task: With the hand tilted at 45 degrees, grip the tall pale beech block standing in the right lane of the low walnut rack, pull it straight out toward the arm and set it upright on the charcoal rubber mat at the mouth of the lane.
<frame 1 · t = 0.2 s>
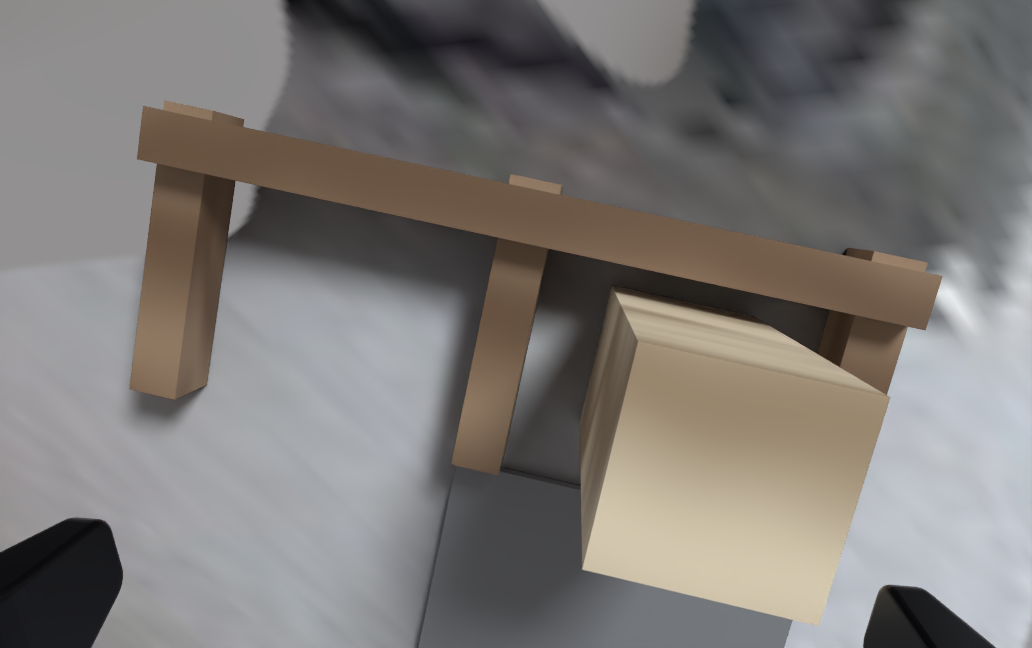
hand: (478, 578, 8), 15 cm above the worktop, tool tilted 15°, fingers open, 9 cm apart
lane rack: (665, 369, 23), on the worktop
rubber mat: (602, 618, 25), on the worktop
beech block: (664, 369, 23), on the worktop
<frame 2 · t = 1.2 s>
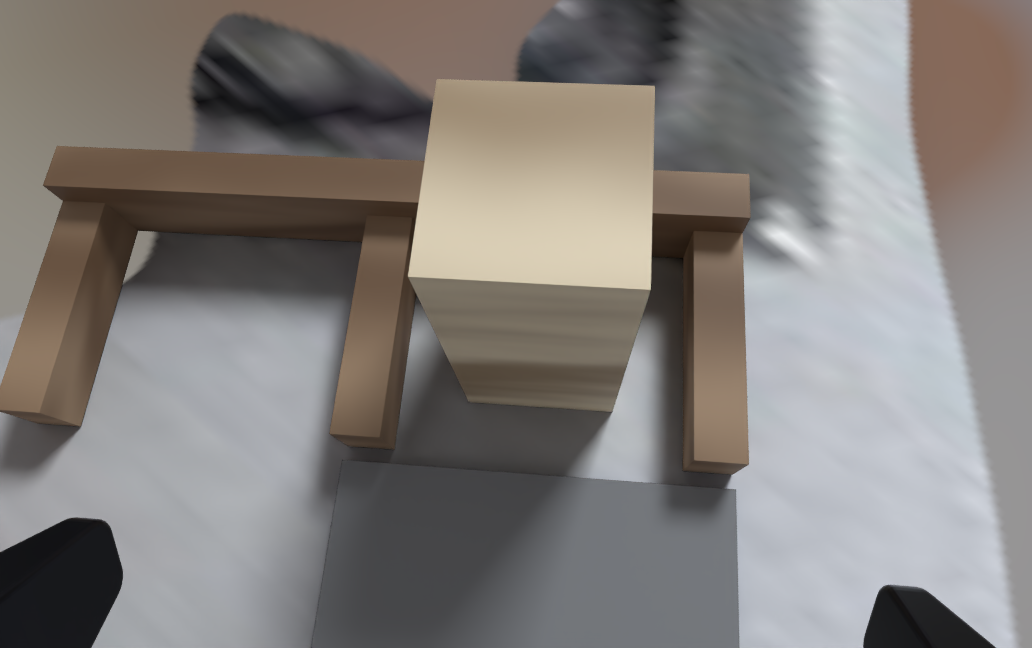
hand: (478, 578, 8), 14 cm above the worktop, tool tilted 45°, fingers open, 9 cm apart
lane rack: (544, 338, 24), on the worktop
rubber mat: (523, 633, 21), on the worktop
beech block: (544, 339, 24), on the worktop
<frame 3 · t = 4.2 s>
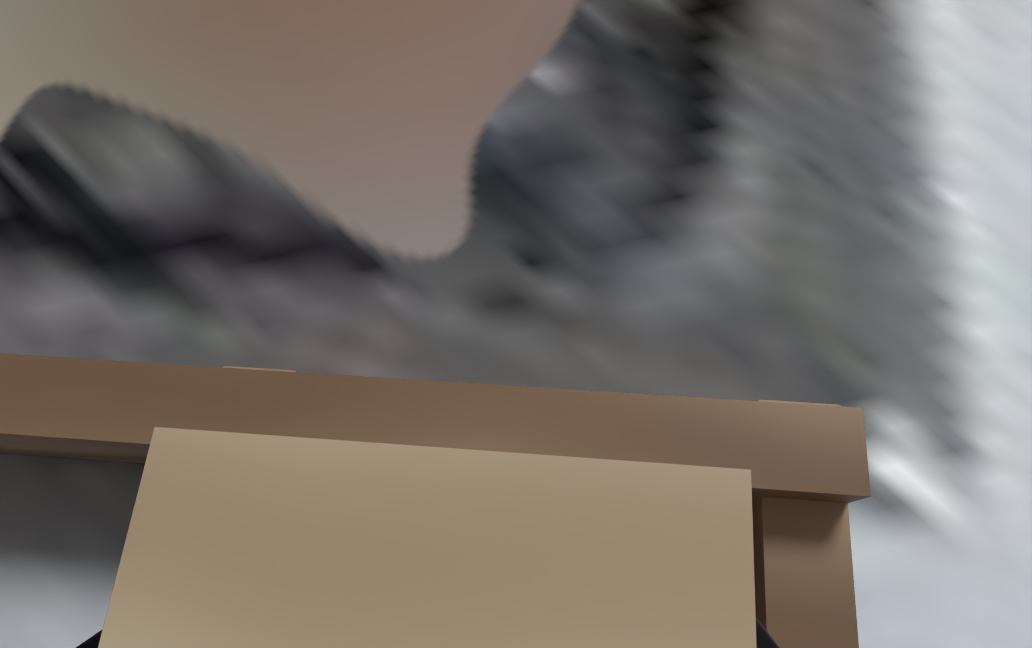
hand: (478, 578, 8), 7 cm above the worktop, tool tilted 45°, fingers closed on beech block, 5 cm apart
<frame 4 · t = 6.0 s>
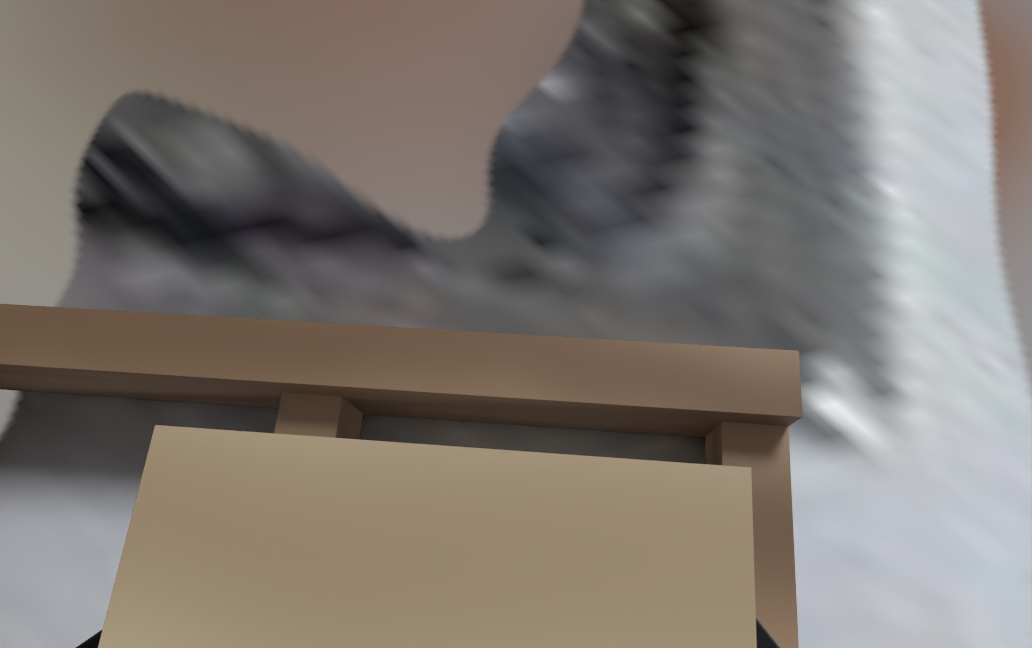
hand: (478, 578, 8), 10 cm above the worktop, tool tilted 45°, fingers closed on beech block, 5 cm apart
lane rack: (521, 553, 18), on the worktop
when the fingers open (8 cm above the worktop, at t = 8.1 s): beech block drops 1 cm, resting on rubber mat.
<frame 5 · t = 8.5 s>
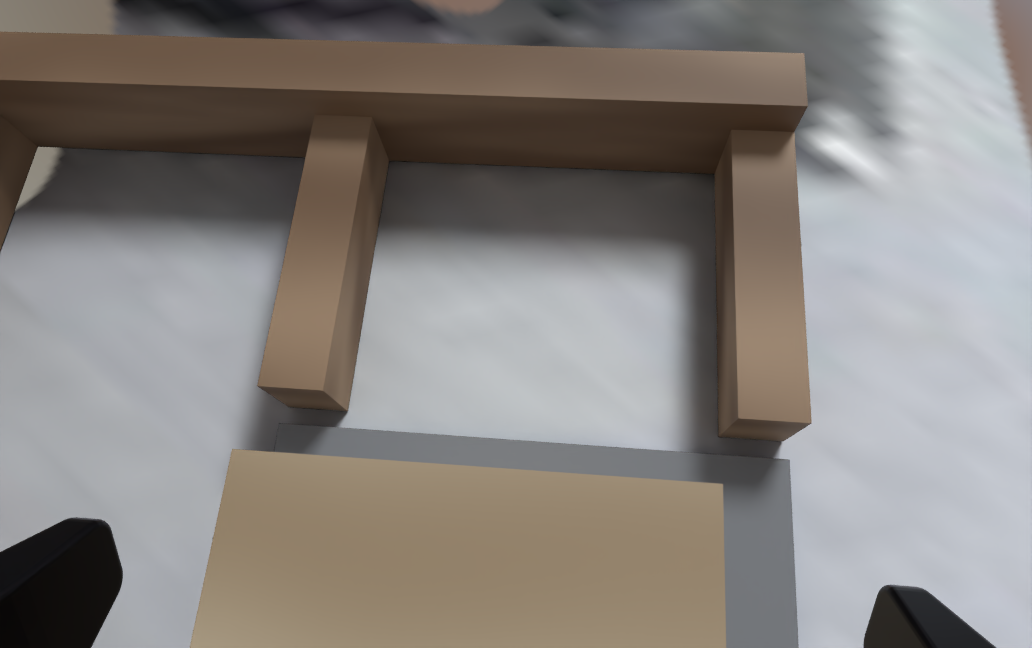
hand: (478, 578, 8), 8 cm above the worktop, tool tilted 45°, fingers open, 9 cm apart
lane rack: (540, 272, 19), on the worktop
beech block: (513, 647, 15), resting on rubber mat
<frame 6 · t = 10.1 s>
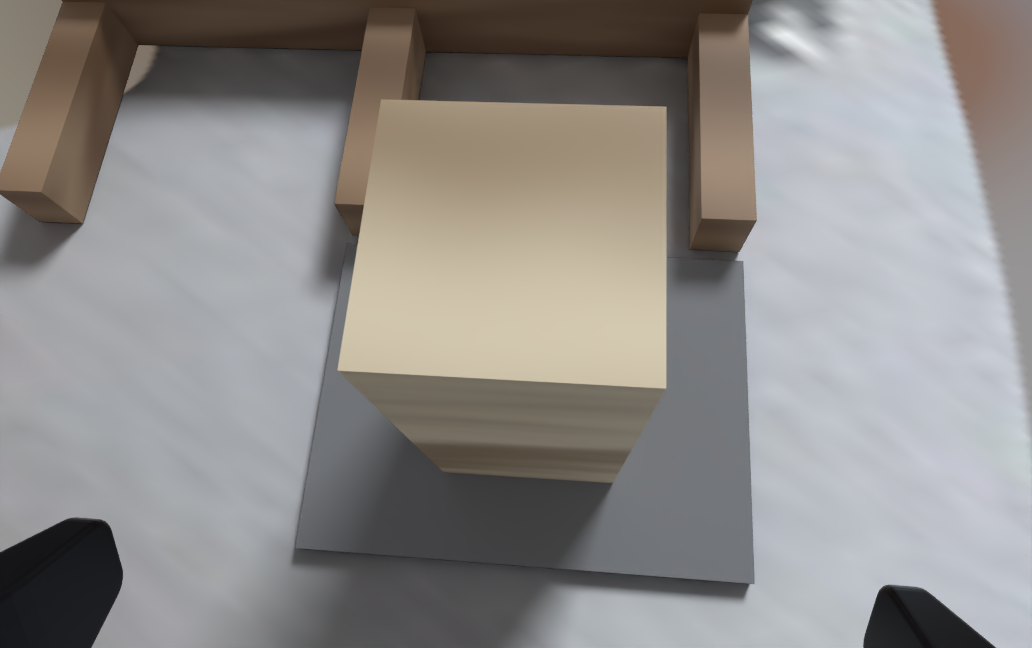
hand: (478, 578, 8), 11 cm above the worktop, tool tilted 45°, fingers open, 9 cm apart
lane rack: (549, 133, 23), on the worktop
rubber mat: (531, 400, 20), on the worktop
beech block: (532, 395, 20), resting on rubber mat
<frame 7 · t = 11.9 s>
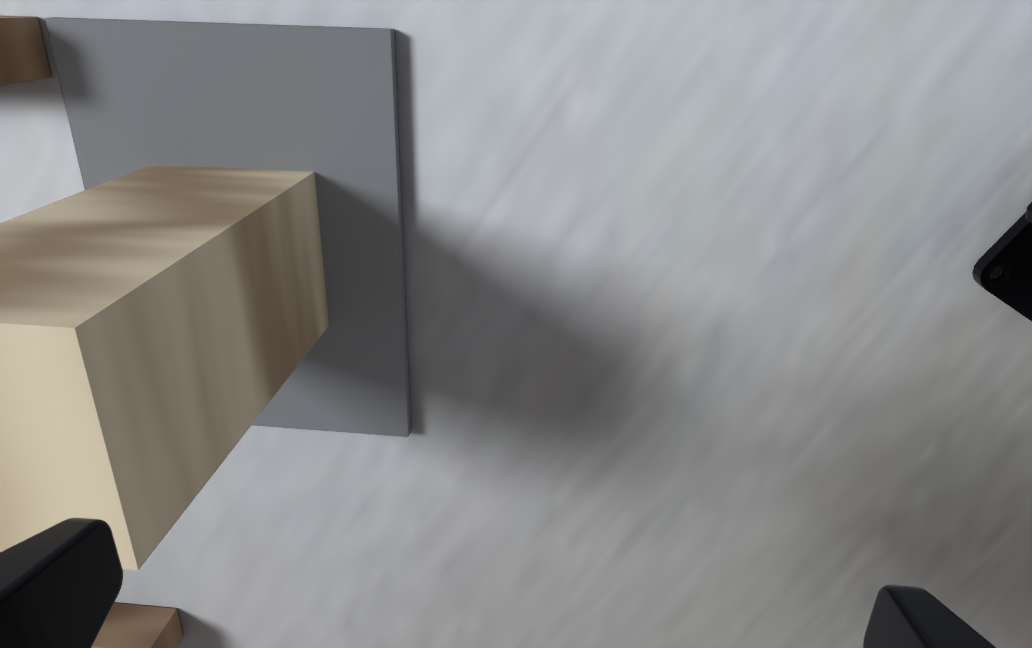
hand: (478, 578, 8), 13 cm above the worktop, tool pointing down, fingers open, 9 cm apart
rubber mat: (252, 245, 21), on the worktop
beech block: (243, 248, 20), resting on rubber mat
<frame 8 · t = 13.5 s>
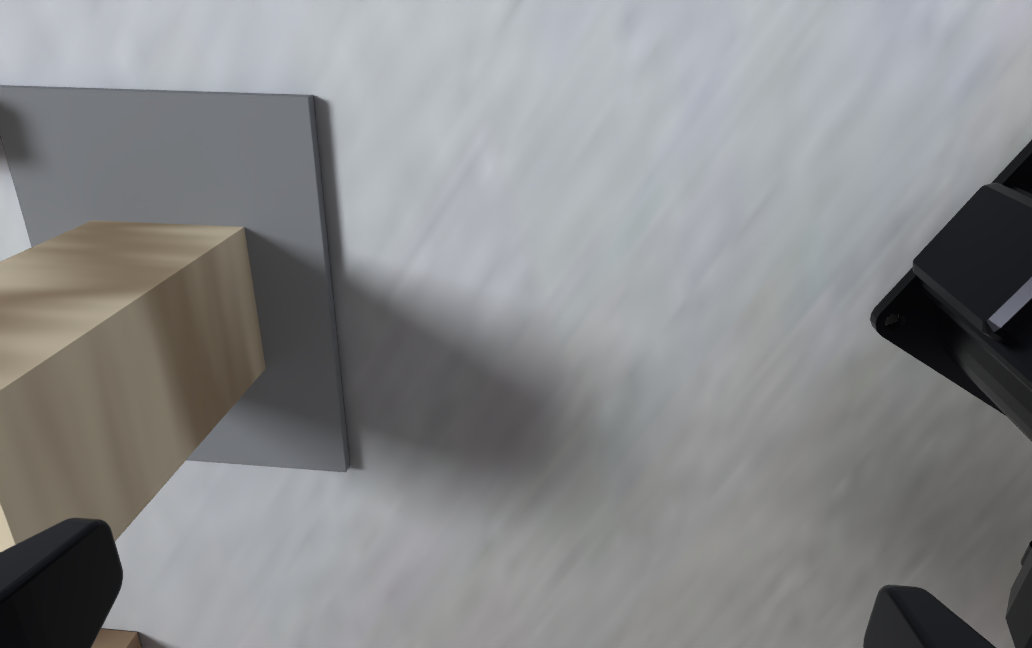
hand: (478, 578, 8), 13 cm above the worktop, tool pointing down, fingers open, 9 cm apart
rubber mat: (191, 293, 22), on the worktop
beech block: (182, 297, 22), resting on rubber mat
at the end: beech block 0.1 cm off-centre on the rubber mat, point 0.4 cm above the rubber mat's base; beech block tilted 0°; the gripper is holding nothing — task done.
